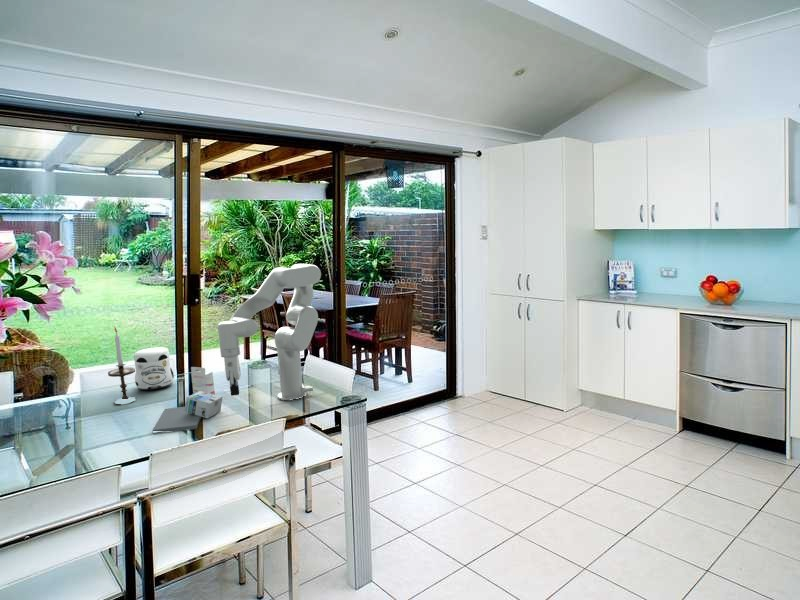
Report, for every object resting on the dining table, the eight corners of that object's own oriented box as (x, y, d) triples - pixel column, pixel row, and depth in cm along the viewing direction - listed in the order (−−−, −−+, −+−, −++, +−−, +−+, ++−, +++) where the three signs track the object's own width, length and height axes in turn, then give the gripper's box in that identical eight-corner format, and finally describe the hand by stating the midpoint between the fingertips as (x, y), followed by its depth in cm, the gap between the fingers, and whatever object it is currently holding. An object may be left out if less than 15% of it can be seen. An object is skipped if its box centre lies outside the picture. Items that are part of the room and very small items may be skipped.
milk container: (151, 394, 263) (146, 357, 260) (128, 390, 272) (123, 353, 269) (182, 384, 278) (178, 348, 275) (159, 380, 287) (155, 345, 284)
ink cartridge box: (215, 396, 257) (212, 365, 254) (208, 400, 252) (205, 368, 250) (200, 394, 260) (197, 364, 257) (193, 398, 255) (189, 367, 253)
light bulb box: (210, 403, 226) (186, 396, 228) (207, 419, 227) (183, 412, 229) (223, 396, 237) (199, 390, 238) (220, 411, 238) (197, 405, 239)
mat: (204, 407, 242) (204, 404, 242) (196, 428, 219) (196, 425, 218) (165, 412, 239) (164, 408, 239) (152, 433, 216) (152, 430, 215)
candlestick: (121, 407, 248) (111, 329, 242) (106, 403, 253) (96, 327, 247) (143, 399, 257) (134, 324, 251) (128, 396, 262) (119, 322, 257)
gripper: (238, 355, 222) (243, 399, 225) (241, 346, 237) (245, 388, 240) (218, 357, 221) (223, 402, 224) (222, 348, 235) (227, 390, 239)
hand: (235, 394), depth 232 cm, fingers closed
